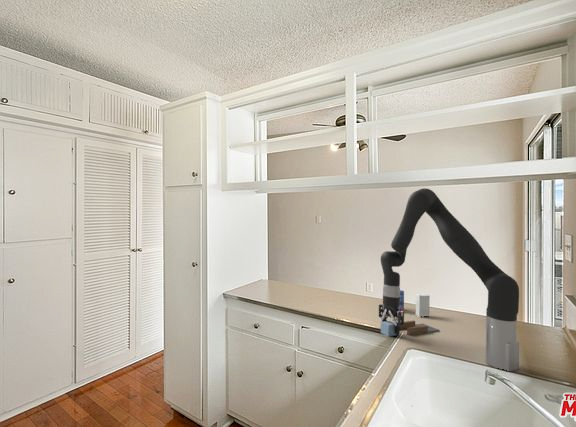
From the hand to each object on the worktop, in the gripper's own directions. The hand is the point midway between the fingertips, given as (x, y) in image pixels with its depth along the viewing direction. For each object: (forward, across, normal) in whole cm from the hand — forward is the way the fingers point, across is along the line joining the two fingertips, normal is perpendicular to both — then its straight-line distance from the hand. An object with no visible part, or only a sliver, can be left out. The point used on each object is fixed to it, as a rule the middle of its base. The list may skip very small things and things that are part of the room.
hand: (390, 330), depth 142 cm
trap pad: (+1, 0, +23) cm, 23 cm away
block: (+1, 0, -1) cm, 2 cm away
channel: (+1, 0, +13) cm, 13 cm away
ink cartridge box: (+2, -31, +32) cm, 45 cm away
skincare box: (+2, -16, +38) cm, 41 cm away
